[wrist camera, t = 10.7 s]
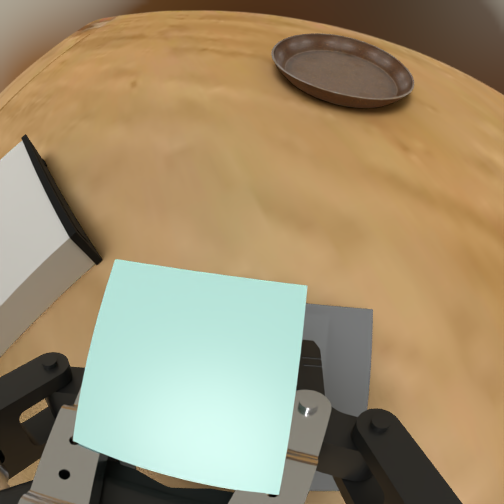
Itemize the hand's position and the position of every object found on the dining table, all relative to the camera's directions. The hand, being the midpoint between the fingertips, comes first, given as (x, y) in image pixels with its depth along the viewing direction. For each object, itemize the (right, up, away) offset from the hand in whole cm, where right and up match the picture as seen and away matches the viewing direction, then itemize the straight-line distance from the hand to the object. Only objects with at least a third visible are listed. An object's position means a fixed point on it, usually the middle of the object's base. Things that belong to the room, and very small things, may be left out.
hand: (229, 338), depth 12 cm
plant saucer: (+12, +25, +22) cm, 35 cm away
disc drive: (-25, +1, +11) cm, 27 cm away
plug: (0, -4, +4) cm, 6 cm away
